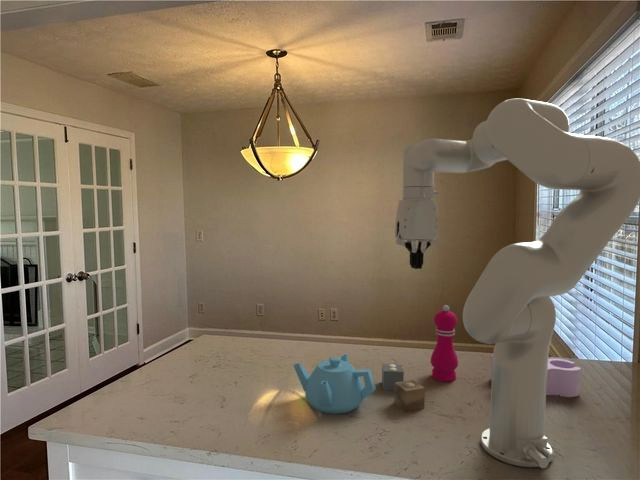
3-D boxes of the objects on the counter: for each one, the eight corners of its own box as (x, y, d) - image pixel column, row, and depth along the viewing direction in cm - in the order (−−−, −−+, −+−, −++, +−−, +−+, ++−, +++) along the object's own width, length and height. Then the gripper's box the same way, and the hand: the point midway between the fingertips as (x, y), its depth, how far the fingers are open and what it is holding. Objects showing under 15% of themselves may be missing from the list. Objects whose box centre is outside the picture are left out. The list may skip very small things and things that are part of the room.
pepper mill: (454, 372, 122) (456, 302, 120) (460, 383, 114) (462, 308, 113) (428, 371, 122) (430, 301, 121) (432, 381, 115) (434, 307, 114)
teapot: (319, 424, 93) (319, 375, 92) (292, 396, 106) (292, 353, 105) (378, 409, 100) (379, 364, 99) (346, 385, 113) (346, 344, 112)
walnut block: (424, 408, 100) (424, 387, 100) (405, 412, 98) (406, 390, 98) (412, 399, 105) (412, 379, 104) (394, 402, 103) (394, 381, 103)
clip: (567, 382, 116) (568, 356, 116) (586, 402, 104) (587, 374, 103) (488, 376, 120) (489, 351, 119) (498, 395, 108) (499, 368, 107)
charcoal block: (403, 391, 110) (403, 371, 109) (383, 390, 110) (383, 370, 110) (400, 382, 115) (401, 364, 114) (381, 382, 115) (382, 363, 115)
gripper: (438, 195, 112) (437, 265, 114) (384, 194, 110) (383, 266, 111) (453, 194, 105) (451, 269, 107) (395, 194, 102) (393, 271, 104)
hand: (416, 267), depth 109 cm, fingers closed
